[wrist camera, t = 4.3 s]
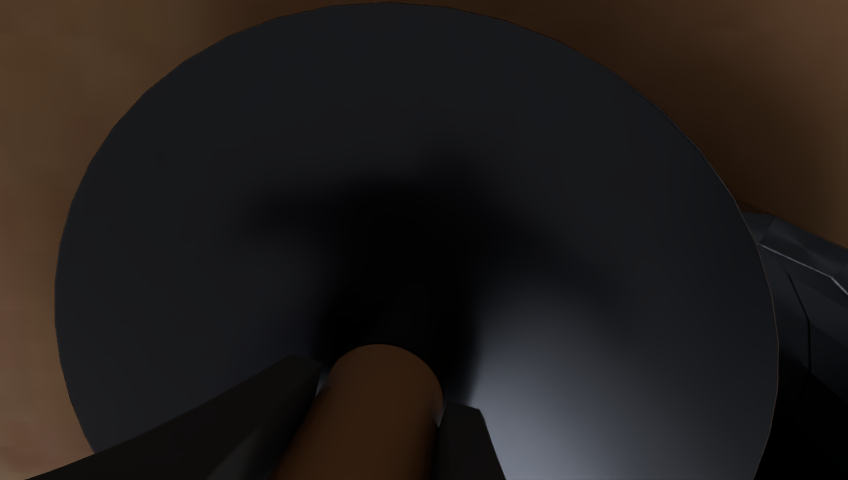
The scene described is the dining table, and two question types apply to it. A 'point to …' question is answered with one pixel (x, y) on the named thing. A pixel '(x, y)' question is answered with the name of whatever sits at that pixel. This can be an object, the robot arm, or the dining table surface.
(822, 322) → the pan
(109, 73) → the dining table surface
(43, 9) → the dining table surface
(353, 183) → the pan lid
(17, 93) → the dining table surface
